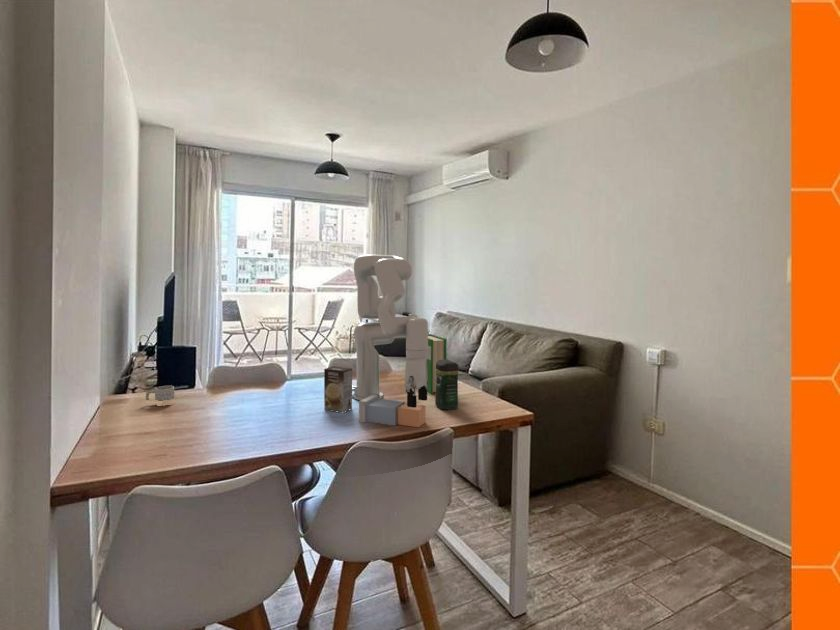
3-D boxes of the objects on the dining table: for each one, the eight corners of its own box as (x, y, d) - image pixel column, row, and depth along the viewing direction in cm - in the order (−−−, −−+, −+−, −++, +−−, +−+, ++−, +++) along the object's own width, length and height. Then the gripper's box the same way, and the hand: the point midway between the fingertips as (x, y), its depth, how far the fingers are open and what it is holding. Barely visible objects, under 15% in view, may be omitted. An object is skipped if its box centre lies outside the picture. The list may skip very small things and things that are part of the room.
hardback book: (446, 392, 201) (446, 338, 199) (430, 394, 198) (431, 339, 196) (430, 383, 217) (430, 333, 215) (415, 385, 214) (416, 334, 212)
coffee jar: (461, 409, 176) (461, 361, 175) (442, 411, 173) (442, 363, 172) (450, 402, 185) (451, 357, 184) (432, 404, 182) (433, 358, 181)
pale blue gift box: (357, 421, 161) (357, 401, 160) (372, 412, 171) (372, 393, 170) (393, 426, 156) (393, 406, 155) (406, 417, 166) (406, 398, 165)
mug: (176, 401, 184) (175, 385, 184) (173, 405, 178) (172, 389, 178) (148, 403, 181) (147, 386, 181) (143, 407, 175) (143, 391, 174)
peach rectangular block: (397, 424, 158) (397, 407, 157) (404, 419, 163) (404, 402, 163) (418, 427, 155) (419, 410, 154) (425, 422, 160) (425, 405, 160)
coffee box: (323, 410, 174) (322, 368, 172) (333, 405, 180) (333, 365, 178) (343, 413, 170) (343, 371, 169) (353, 408, 176) (352, 367, 174)
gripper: (416, 350, 165) (416, 396, 166) (396, 357, 149) (396, 408, 150) (436, 351, 163) (436, 398, 164) (417, 358, 147) (417, 411, 148)
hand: (417, 403), depth 157 cm, fingers open, 9 cm apart
